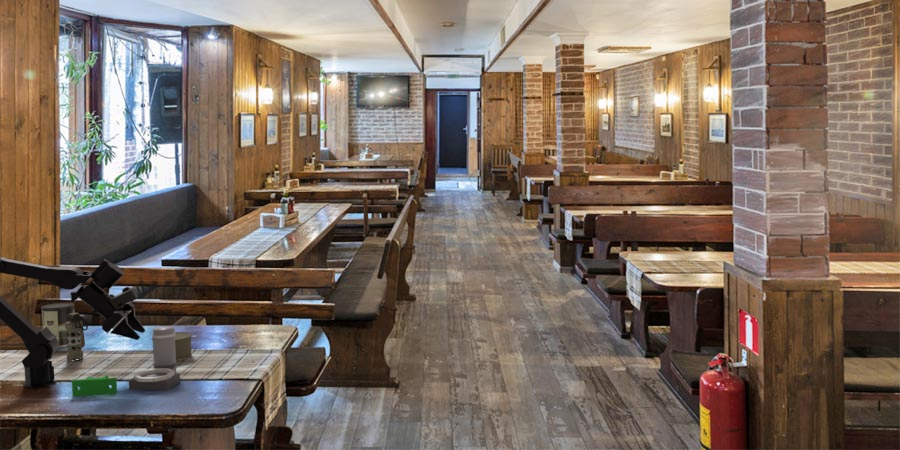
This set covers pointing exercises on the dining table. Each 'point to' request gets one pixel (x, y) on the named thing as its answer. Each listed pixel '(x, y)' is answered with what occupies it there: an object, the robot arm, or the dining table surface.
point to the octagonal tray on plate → (154, 379)
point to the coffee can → (57, 320)
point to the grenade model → (75, 336)
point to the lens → (164, 348)
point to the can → (182, 345)
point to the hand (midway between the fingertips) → (141, 335)
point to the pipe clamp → (94, 386)
